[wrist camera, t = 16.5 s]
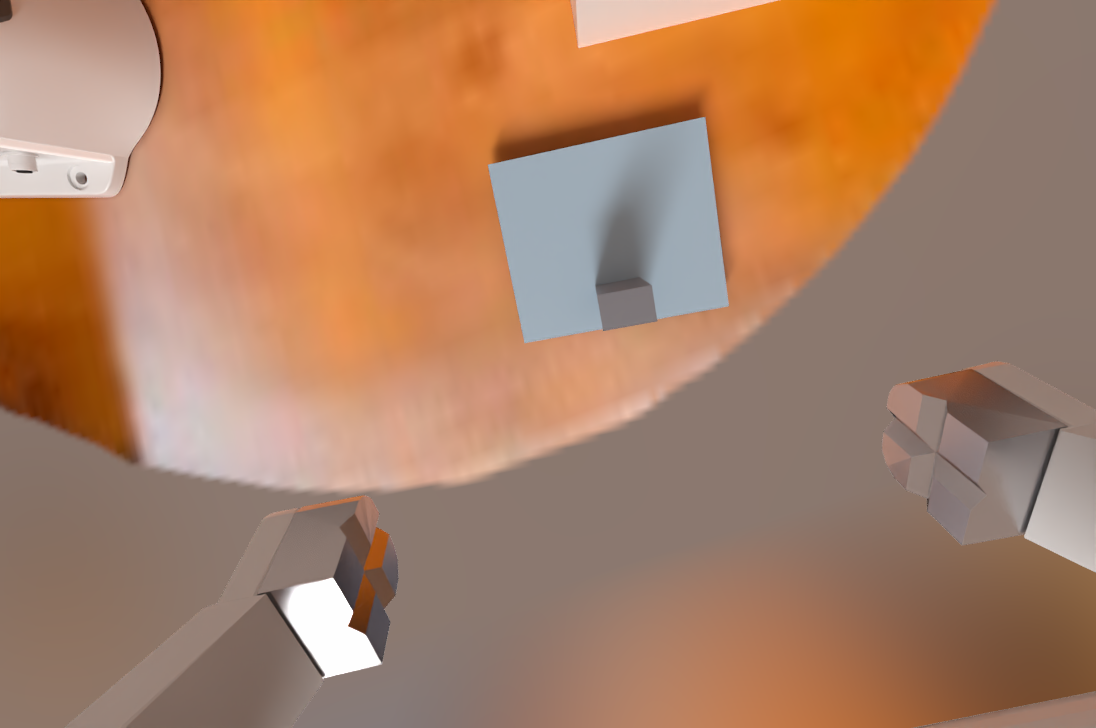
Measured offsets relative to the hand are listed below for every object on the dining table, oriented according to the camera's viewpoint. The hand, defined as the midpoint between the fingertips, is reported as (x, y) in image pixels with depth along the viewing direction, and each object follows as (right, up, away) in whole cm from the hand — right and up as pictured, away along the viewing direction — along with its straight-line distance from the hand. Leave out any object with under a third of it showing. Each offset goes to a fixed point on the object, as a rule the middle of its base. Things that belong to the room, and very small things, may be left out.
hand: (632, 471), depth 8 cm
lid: (+3, +10, +28) cm, 30 cm away
